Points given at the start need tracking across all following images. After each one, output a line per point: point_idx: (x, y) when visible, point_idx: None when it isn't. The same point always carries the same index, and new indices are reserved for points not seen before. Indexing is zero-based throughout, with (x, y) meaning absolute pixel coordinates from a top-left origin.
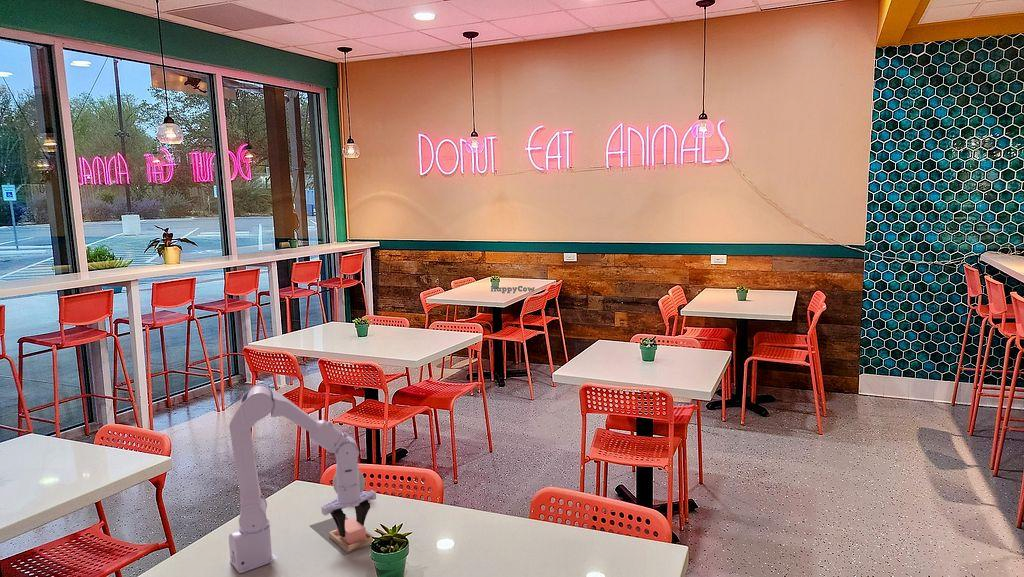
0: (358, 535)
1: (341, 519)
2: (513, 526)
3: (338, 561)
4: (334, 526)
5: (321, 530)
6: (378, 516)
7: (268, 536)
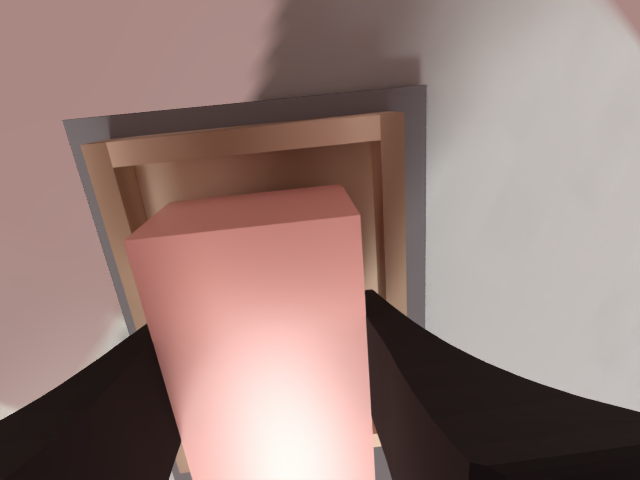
0: (239, 209)
1: (511, 399)
2: None
3: (479, 58)
4: None
5: None
6: None
7: None
